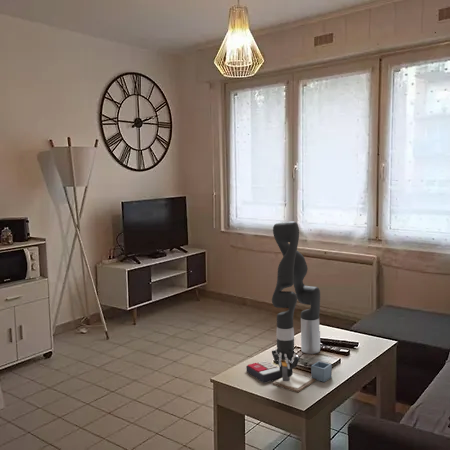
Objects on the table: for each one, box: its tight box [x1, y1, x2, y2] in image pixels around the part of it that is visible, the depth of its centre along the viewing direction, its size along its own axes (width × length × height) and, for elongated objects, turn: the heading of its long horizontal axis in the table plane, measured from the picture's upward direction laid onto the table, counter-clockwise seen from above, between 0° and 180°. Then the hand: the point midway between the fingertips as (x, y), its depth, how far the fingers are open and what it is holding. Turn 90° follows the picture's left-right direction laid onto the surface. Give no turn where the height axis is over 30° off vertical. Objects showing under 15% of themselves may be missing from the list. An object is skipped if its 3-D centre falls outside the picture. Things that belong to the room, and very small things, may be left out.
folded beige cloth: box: [272, 372, 317, 393], centre depth 216 cm, size 14×13×1 cm
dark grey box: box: [245, 360, 282, 384], centre depth 226 cm, size 11×4×15 cm
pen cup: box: [310, 360, 332, 383], centre depth 219 cm, size 6×6×6 cm
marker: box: [282, 360, 290, 381], centre depth 216 cm, size 3×3×8 cm
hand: (286, 375), depth 216 cm, fingers closed on marker, 3 cm apart
